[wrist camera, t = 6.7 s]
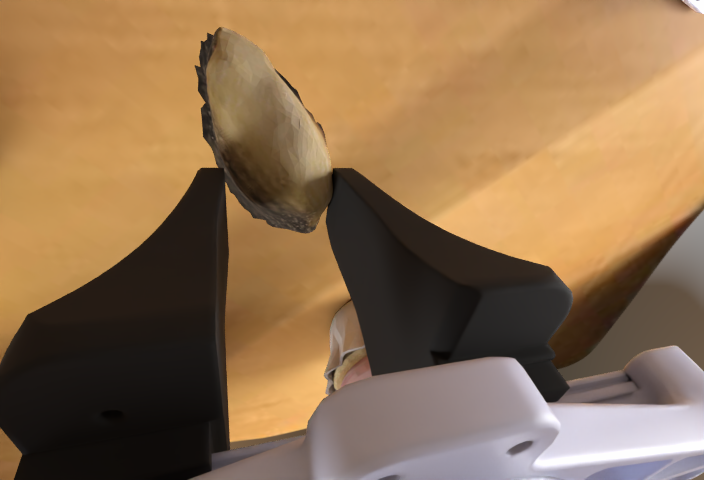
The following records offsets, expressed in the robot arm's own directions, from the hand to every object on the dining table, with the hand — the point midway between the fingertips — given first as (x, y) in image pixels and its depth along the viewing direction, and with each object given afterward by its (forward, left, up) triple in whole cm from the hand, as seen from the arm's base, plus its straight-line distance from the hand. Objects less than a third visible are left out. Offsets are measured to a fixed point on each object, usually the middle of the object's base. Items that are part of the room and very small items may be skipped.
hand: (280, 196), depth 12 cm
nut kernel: (0, -1, -2) cm, 2 cm away
